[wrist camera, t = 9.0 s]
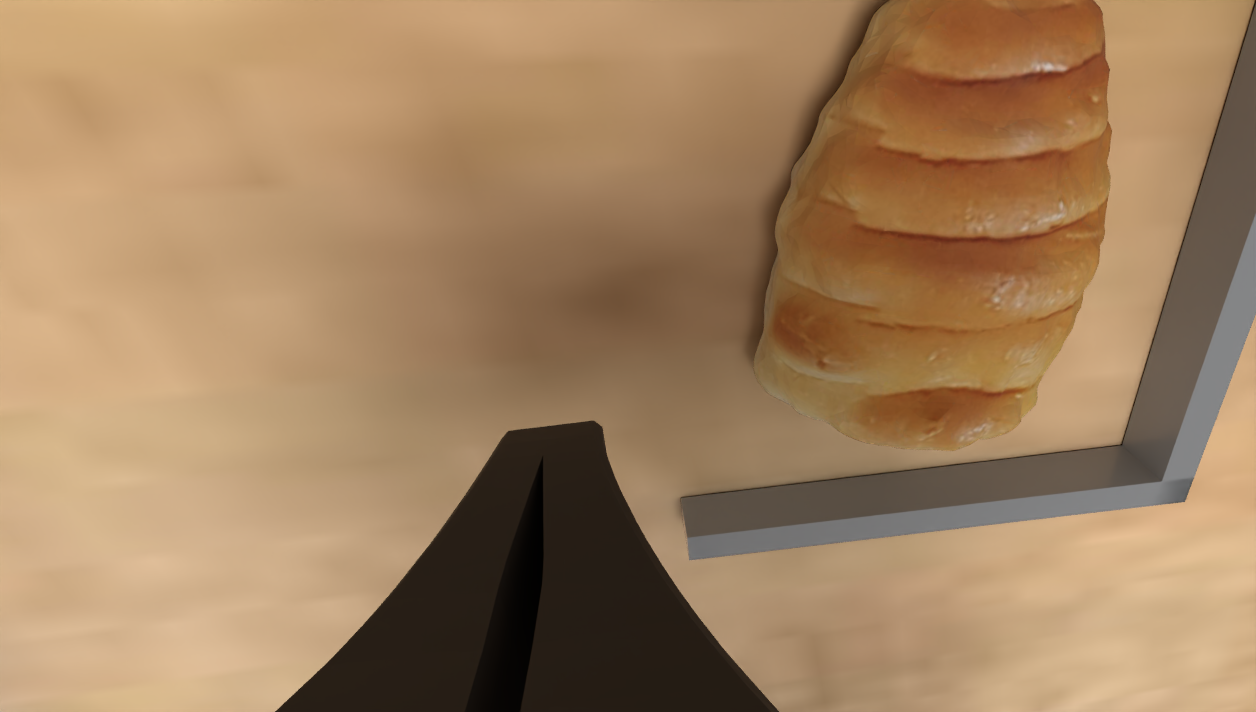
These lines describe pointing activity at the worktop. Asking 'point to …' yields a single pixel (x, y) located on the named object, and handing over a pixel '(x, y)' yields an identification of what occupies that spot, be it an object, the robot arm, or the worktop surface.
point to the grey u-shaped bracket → (1069, 481)
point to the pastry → (942, 222)
